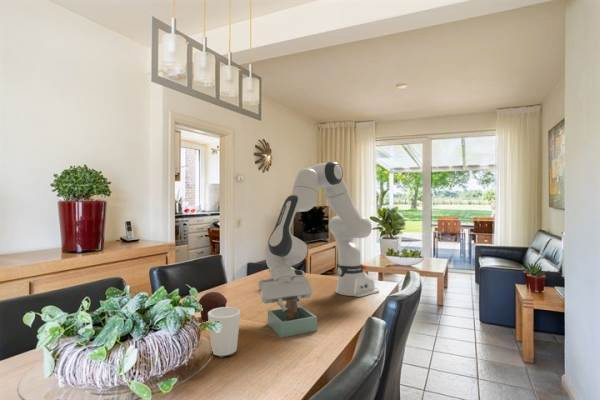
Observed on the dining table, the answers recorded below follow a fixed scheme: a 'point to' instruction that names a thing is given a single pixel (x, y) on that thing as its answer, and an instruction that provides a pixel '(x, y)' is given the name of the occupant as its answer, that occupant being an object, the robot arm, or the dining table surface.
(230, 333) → the cup
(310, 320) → the bin
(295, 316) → the walnut peg
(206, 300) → the muffin
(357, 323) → the dining table surface
